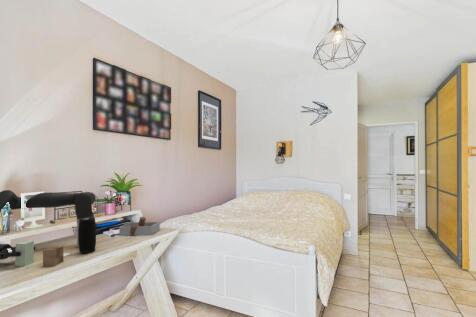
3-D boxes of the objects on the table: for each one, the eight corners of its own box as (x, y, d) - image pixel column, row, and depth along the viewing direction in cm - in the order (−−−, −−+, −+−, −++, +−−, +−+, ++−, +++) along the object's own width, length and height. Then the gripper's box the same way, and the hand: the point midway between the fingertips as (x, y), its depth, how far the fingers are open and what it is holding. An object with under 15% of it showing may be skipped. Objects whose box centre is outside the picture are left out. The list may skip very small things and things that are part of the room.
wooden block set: (133, 238, 178) (136, 226, 176) (125, 232, 182) (128, 220, 180) (152, 231, 194) (155, 219, 193) (144, 226, 198) (148, 214, 196)
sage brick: (24, 262, 131) (24, 241, 132) (33, 262, 131) (33, 240, 132) (15, 266, 126) (15, 243, 127) (25, 266, 126) (25, 243, 127)
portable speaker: (75, 255, 141) (75, 219, 141) (82, 249, 150) (82, 216, 150) (92, 253, 142) (92, 218, 143) (98, 248, 152) (97, 215, 152)
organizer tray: (129, 230, 196) (129, 222, 196) (159, 229, 195) (159, 221, 195) (119, 235, 180) (119, 227, 180) (152, 235, 179) (151, 226, 179)
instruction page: (52, 253, 144) (52, 253, 144) (71, 253, 143) (71, 252, 143) (40, 259, 136) (40, 258, 136) (60, 258, 135) (60, 258, 135)
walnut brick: (52, 261, 131) (52, 246, 132) (63, 261, 131) (63, 246, 131) (42, 266, 125) (42, 249, 126) (54, 266, 125) (54, 249, 125)
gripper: (-18, 248, 123) (15, 248, 122) (10, 240, 137) (39, 239, 136) (-18, 264, 122) (14, 263, 122) (10, 254, 137) (39, 253, 136)
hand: (27, 251), depth 129 cm, fingers open, 8 cm apart
